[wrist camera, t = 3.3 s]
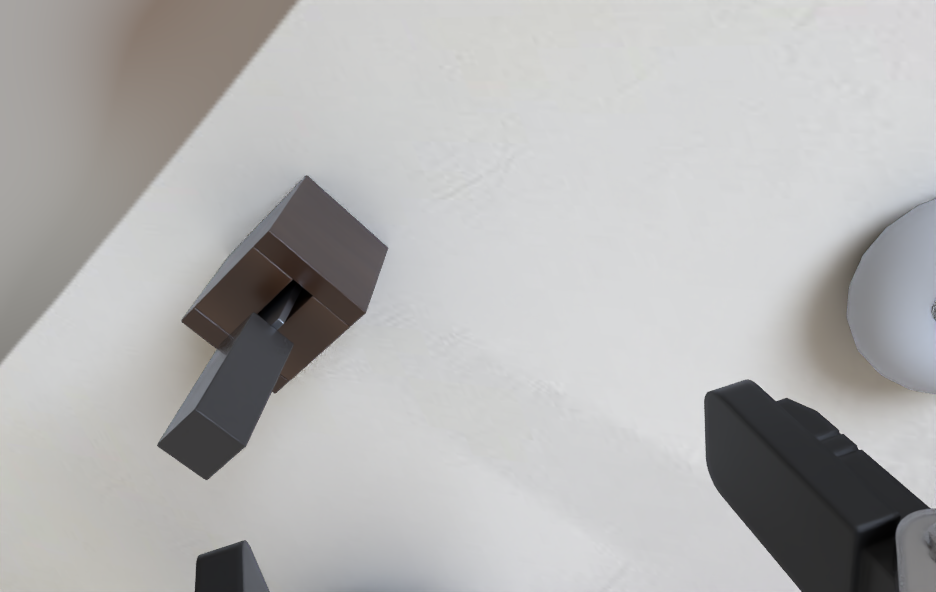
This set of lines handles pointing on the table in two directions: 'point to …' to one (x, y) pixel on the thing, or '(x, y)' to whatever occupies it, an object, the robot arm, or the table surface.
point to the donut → (898, 301)
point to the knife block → (295, 276)
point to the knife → (232, 390)
